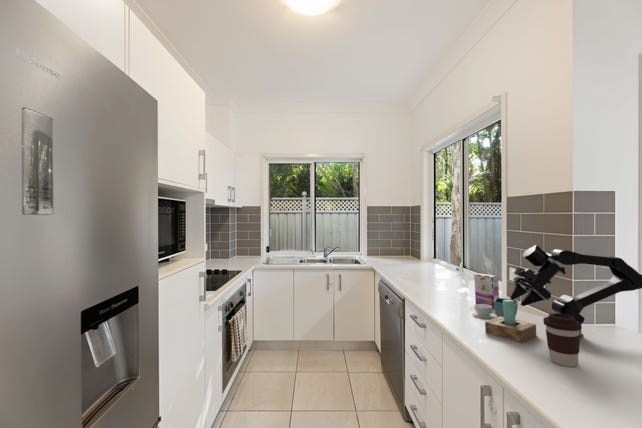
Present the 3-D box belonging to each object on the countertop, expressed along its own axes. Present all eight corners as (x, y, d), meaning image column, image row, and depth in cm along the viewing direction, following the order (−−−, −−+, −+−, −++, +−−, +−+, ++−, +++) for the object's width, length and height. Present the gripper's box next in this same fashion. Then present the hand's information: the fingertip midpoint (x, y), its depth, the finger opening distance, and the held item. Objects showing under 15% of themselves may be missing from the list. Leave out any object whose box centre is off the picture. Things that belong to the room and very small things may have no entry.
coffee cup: (546, 353, 109) (544, 310, 110) (583, 360, 103) (581, 314, 103) (544, 363, 102) (541, 317, 102) (583, 372, 95) (581, 323, 96)
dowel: (518, 333, 127) (516, 301, 127) (513, 335, 125) (511, 302, 125) (507, 330, 130) (505, 299, 130) (503, 332, 128) (501, 300, 128)
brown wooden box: (536, 335, 125) (535, 324, 125) (522, 343, 118) (521, 331, 118) (500, 326, 136) (499, 316, 137) (485, 332, 130) (485, 321, 130)
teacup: (496, 319, 146) (495, 309, 146) (472, 317, 150) (472, 307, 150) (494, 313, 155) (493, 303, 155) (472, 311, 159) (471, 302, 159)
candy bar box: (500, 307, 164) (498, 275, 164) (493, 308, 162) (492, 276, 162) (481, 302, 174) (480, 272, 174) (475, 303, 172) (473, 273, 172)
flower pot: (517, 324, 138) (516, 304, 138) (494, 321, 143) (493, 301, 143) (519, 319, 145) (518, 299, 145) (497, 316, 150) (496, 297, 150)
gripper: (517, 257, 136) (491, 283, 137) (540, 264, 117) (510, 293, 119) (538, 275, 134) (512, 301, 136) (564, 284, 116) (534, 314, 117)
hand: (516, 302), depth 127 cm, fingers open, 9 cm apart
